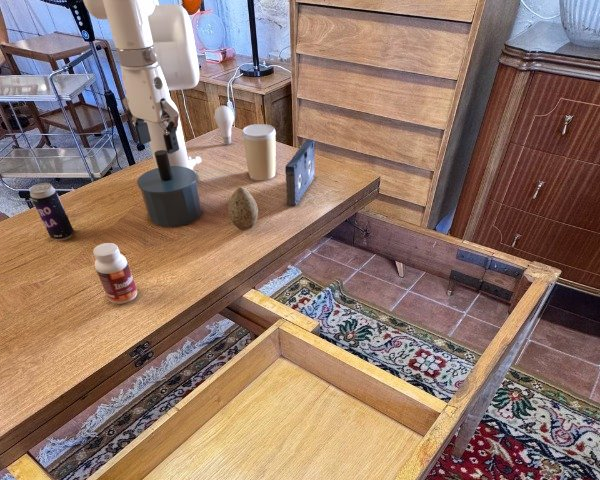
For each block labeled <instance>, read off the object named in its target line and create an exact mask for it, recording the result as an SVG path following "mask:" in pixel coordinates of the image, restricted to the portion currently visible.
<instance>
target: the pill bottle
mask: <svg viewBox="0 0 600 480" xmlns="http://www.w3.org/2000/svg"><path fill="white" fill-rule="evenodd" d="M92 253H93V255H94V258H95V261H94V268H95V272H96V273H97V275H98V277H99V280H100V282H101V285H102V287H103V290H104V293H105V295H106V297H107V299H108V301H110V303H113V304H118V305H122V304H127V303H130V302H131V301H133V300H134V299H136V297H137V295H138V288H137V285H136V283H135V280H134V278H133V274H132V272H131V269H130V266H129V263H128V261H127V259H126V257H125V255H124V254H122V253H121V251H120V249H119V247H118V245H117V244H116V243H113V242H104V243H101V244H98V245H97V246H95V247H94V248H93V251H92Z"/></svg>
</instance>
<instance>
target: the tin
mask: <svg viewBox="0 0 600 480" xmlns="http://www.w3.org/2000/svg"><path fill="white" fill-rule="evenodd" d="M140 192H141V196H142V199H143V203H144V205H145V209H146V212H147V216H148V218H149V220H150V222H151V223H153V225H156V226H160V227H164V228H177V227H183V226H186V225H189V224H191V223H193V222H195V221H196V220H198V219H199V218H200V217H201V215H202V204H201V197H200V193H199V189H198V183H197V182H196V183H195V184H194V185H193V186H191V187H190V188H188V189H186V190H183V191H181V192H177V193H172V194H163V195H158V194H150V193H146V192H144V191H142V190H141V189H140Z"/></svg>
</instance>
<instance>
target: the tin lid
mask: <svg viewBox="0 0 600 480" xmlns="http://www.w3.org/2000/svg"><path fill="white" fill-rule="evenodd" d="M154 154H155V158H156V162H157V166H158V168H152V169H150V170H147V171H145V172H144V173H142V174H141V175H140V176H138V178H137V180H136V184H137V187H138V189H139V190H140V191H141V190H142V191H144V192H146V193H150V194H158V195H163V194H172V193H177V192H181V191H183V190H186V189H188V188H190V187H191V186H193V185H194V184H195V183H197V181H198V175H196V174H197V172H196V171H195V170H194V169H193V170H194V171H195V172H196V173H195V172H194V171H193V170H192V169H189V168H186V167H181V166H170V162H169V158H168V153H167V151H165V150H159V151H156V152H155V153H154Z"/></svg>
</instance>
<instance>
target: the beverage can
mask: <svg viewBox="0 0 600 480" xmlns="http://www.w3.org/2000/svg"><path fill="white" fill-rule="evenodd" d="M28 190H29V196H30V199H31V201H32V202H33V203H32V204H33V205H34V207H35V209H36V211H37V213H38V215H39V217H40V220H41V221H42V223H43V225H44V228H45V229H46V231H47V233H48V236H49V237H50V238H51V239H53V240H55V241H59V242H62V241H67V240H68V239H71V237H72V236H73V233H74V228H73V225H72V224H71V221H70V218H69V216H68V214H67V212H66V210H65V208H64V204H63V203H62V201H61V199H60V196H59V194H58V192H57V189H55V187H53V185H52V184H51V183H48V182H40V183H36V184H34V185H32V186H30V187H29V189H28Z"/></svg>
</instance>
